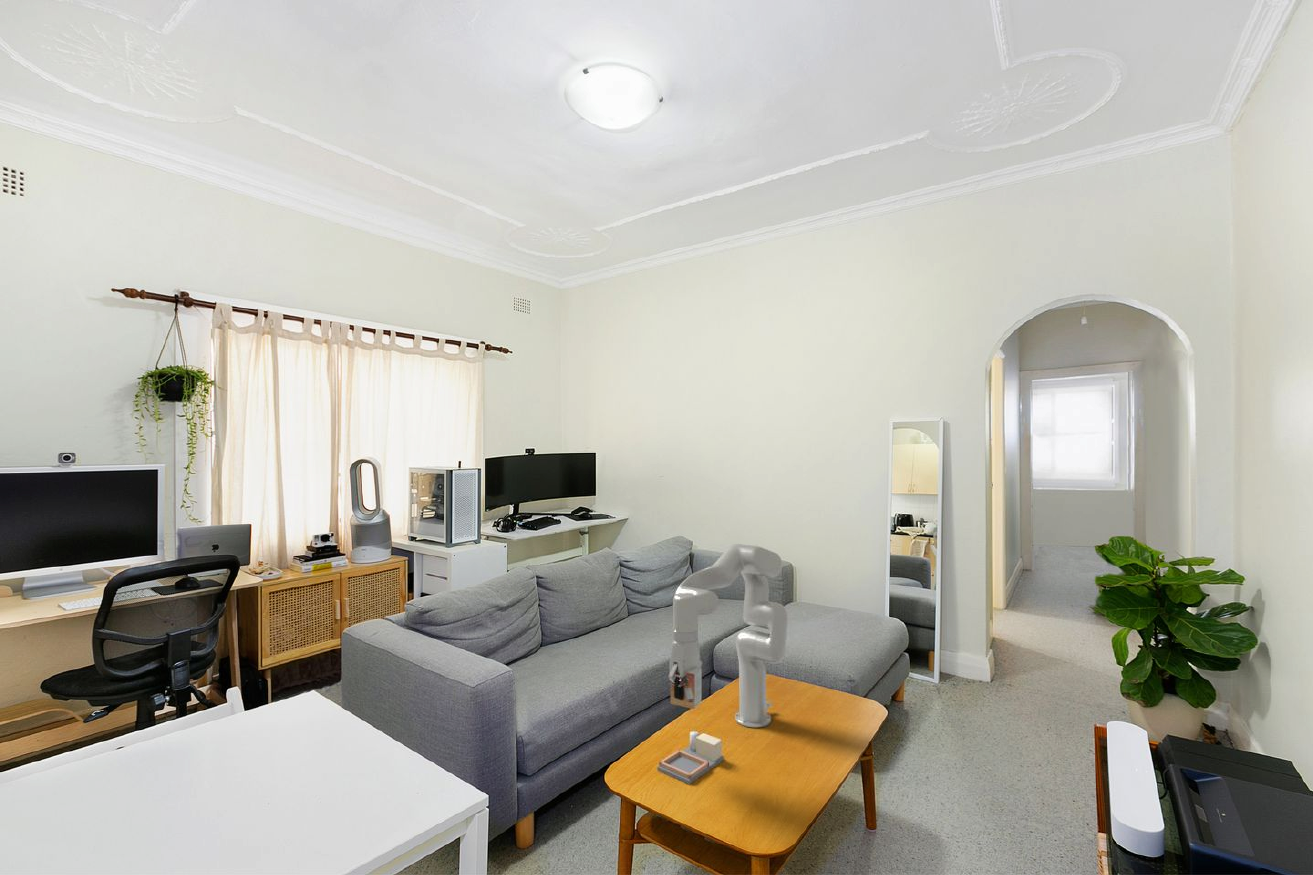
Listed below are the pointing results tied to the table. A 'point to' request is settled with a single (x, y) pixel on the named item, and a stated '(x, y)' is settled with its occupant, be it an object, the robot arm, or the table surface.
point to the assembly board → (693, 758)
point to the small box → (689, 689)
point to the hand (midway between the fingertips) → (686, 694)
